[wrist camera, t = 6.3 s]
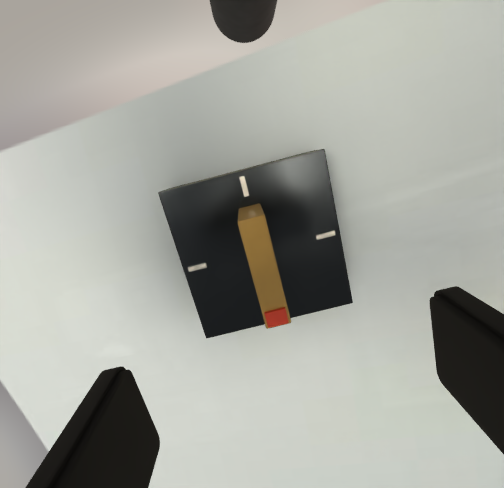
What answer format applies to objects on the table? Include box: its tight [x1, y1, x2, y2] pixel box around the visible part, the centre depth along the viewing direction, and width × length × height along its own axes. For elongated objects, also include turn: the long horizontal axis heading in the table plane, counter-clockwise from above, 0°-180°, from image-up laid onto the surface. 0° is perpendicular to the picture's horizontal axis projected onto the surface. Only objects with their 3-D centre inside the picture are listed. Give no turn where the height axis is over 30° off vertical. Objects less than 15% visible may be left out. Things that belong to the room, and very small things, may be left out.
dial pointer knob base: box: [158, 149, 353, 338], centre depth 25 cm, size 12×12×3 cm
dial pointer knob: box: [238, 203, 291, 328], centre depth 21 cm, size 7×2×5 cm, turn 14°
